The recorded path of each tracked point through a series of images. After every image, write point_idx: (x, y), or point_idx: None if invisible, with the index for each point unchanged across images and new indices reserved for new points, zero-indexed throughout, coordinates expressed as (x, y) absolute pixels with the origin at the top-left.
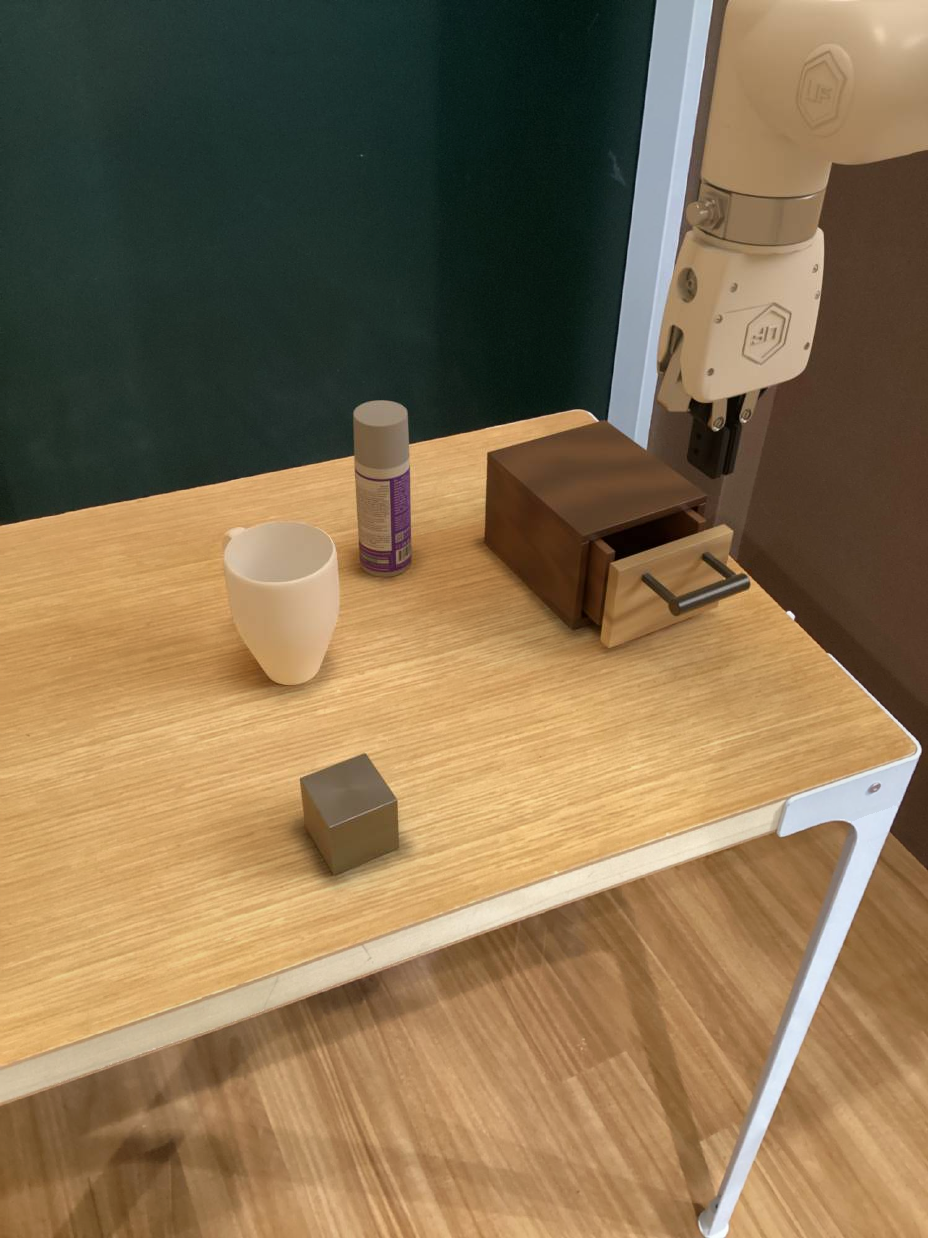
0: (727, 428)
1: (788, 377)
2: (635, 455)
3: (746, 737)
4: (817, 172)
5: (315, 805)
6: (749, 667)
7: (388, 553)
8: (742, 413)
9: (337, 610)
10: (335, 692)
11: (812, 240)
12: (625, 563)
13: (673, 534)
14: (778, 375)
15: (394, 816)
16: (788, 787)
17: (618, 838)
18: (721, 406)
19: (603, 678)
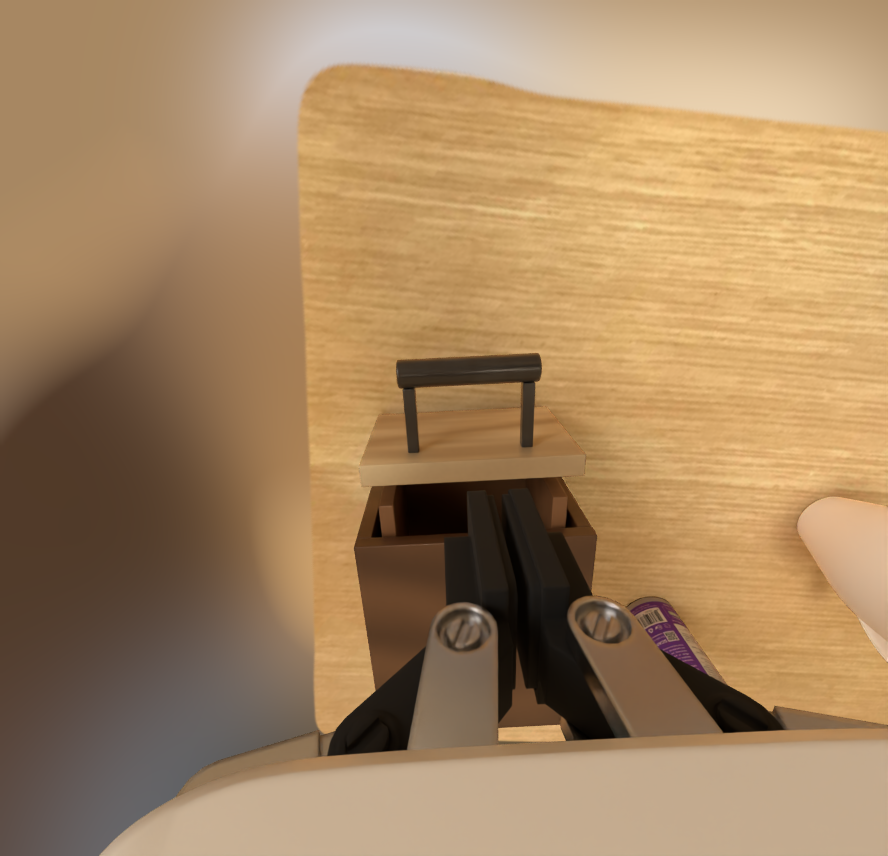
0: (544, 596)
1: (299, 792)
2: (395, 658)
3: (486, 202)
4: None
5: None
6: (400, 312)
7: (674, 621)
8: (477, 639)
9: (880, 544)
10: (815, 472)
11: None
12: (565, 465)
13: (401, 519)
14: (402, 838)
15: None
16: (499, 91)
17: (737, 127)
18: (637, 690)
19: (569, 373)
